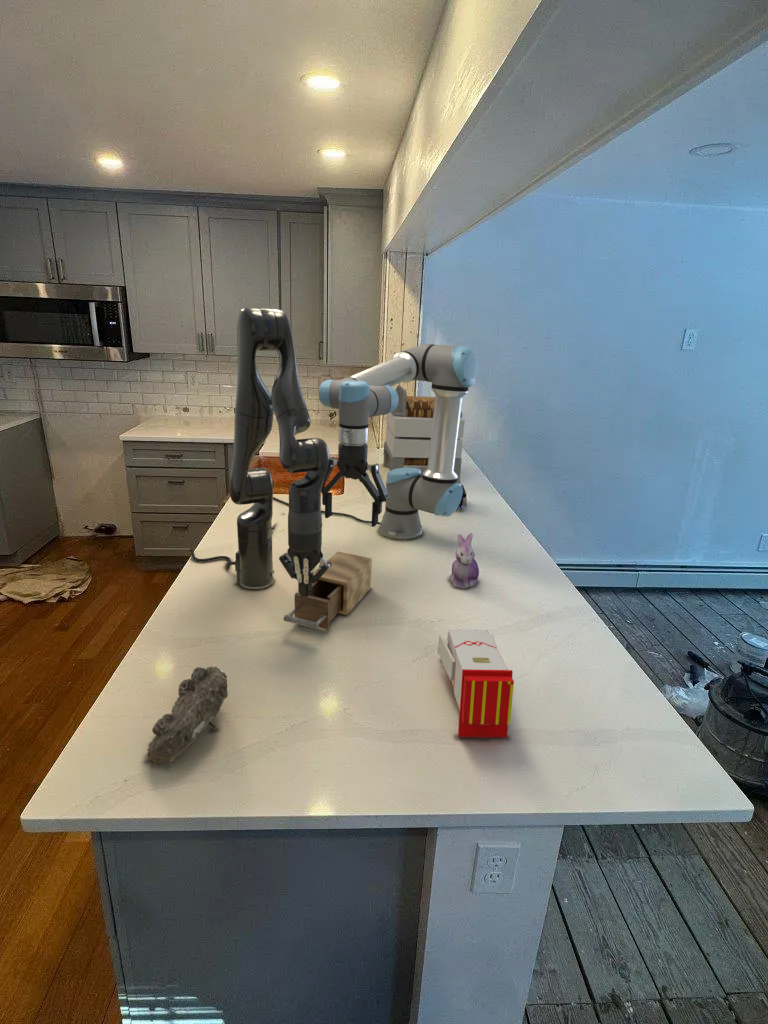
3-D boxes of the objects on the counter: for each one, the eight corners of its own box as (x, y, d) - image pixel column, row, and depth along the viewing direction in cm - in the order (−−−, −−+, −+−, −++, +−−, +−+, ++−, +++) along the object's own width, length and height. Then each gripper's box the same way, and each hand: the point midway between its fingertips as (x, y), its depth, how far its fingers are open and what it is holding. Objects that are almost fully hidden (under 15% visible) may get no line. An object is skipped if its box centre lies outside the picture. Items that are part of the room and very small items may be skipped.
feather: (284, 516, 214) (286, 512, 213) (265, 543, 187) (268, 538, 187) (280, 514, 214) (282, 510, 213) (260, 540, 187) (263, 535, 187)
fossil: (176, 667, 115) (228, 635, 110) (209, 698, 118) (262, 668, 113) (121, 756, 95) (182, 722, 90) (163, 791, 98) (223, 759, 93)
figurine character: (467, 515, 225) (461, 499, 238) (469, 498, 221) (463, 482, 235) (450, 514, 224) (445, 498, 238) (452, 497, 221) (447, 482, 234)
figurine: (460, 592, 160) (465, 543, 155) (441, 577, 168) (445, 530, 163) (487, 586, 164) (493, 538, 159) (467, 572, 173) (472, 526, 168)
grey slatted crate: (382, 463, 289) (386, 382, 275) (445, 464, 293) (451, 384, 279) (390, 482, 257) (394, 392, 243) (460, 483, 261) (468, 394, 247)
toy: (488, 613, 130) (523, 677, 101) (484, 667, 133) (517, 744, 104) (435, 612, 130) (455, 676, 101) (432, 666, 133) (451, 743, 103)
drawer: (317, 641, 132) (317, 613, 130) (282, 632, 135) (282, 605, 133) (353, 602, 150) (354, 576, 148) (322, 594, 153) (322, 570, 151)
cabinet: (346, 615, 146) (347, 582, 142) (310, 607, 149) (310, 574, 146) (370, 588, 160) (371, 558, 157) (337, 581, 163) (338, 551, 160)
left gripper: (270, 527, 126) (272, 596, 132) (323, 537, 121) (323, 609, 127) (287, 516, 132) (288, 583, 138) (338, 526, 128) (337, 594, 134)
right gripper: (302, 440, 145) (303, 517, 153) (393, 452, 137) (389, 533, 145) (316, 434, 152) (316, 509, 159) (404, 446, 144) (399, 523, 151)
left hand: (305, 595), depth 133 cm, fingers closed
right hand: (351, 520), depth 152 cm, fingers open, 13 cm apart
